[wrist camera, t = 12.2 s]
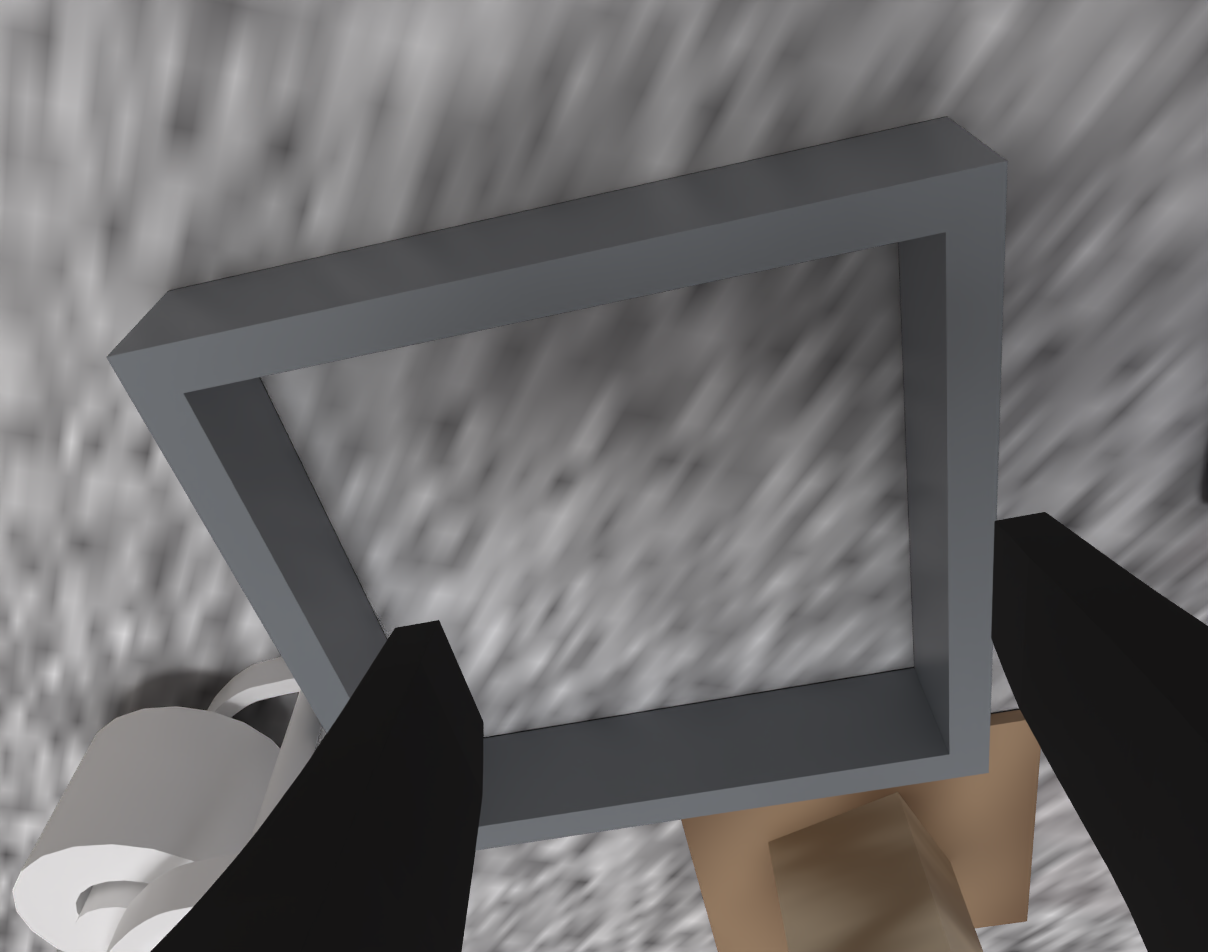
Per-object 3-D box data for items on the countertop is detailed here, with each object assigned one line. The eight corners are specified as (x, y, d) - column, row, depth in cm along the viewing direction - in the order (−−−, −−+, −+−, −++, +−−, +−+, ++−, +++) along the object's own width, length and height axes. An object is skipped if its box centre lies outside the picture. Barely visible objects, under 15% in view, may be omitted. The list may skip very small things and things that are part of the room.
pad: (1037, 706, 27) (1043, 717, 27) (1022, 910, 33) (1026, 921, 33) (668, 765, 28) (668, 775, 28) (719, 951, 34) (720, 962, 34)
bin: (947, 116, 18) (1007, 161, 15) (950, 686, 26) (989, 772, 24) (167, 291, 19) (106, 357, 17) (417, 772, 28) (401, 861, 26)
